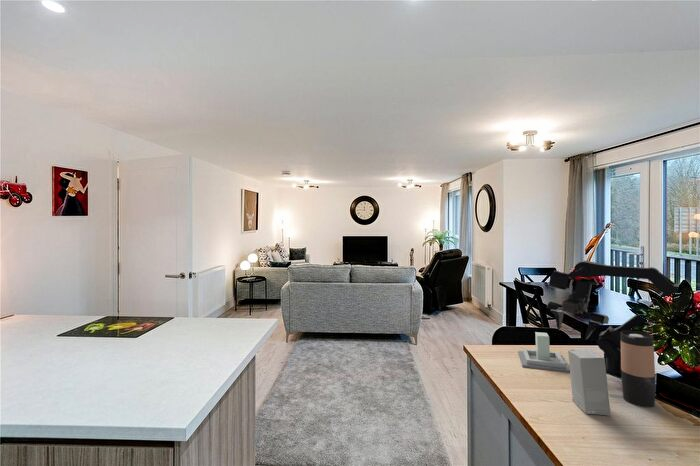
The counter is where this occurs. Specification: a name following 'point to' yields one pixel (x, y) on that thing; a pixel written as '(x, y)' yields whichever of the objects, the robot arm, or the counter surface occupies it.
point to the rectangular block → (542, 346)
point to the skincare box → (589, 381)
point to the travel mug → (638, 368)
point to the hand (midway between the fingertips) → (571, 334)
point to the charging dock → (554, 364)
